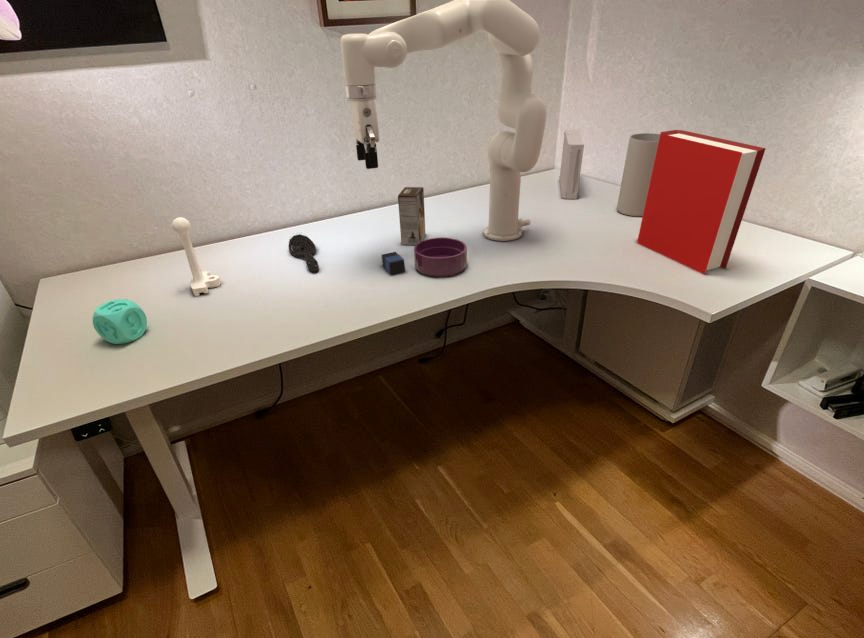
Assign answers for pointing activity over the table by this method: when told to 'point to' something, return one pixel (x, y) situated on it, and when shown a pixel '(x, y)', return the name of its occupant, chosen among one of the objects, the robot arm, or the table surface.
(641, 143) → the cylinder vase
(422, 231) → the coffee box
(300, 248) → the hairbrush
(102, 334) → the decorative dice
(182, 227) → the joystick
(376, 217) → the table surface
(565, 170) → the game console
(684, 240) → the book
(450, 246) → the bowl
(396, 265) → the eraser
